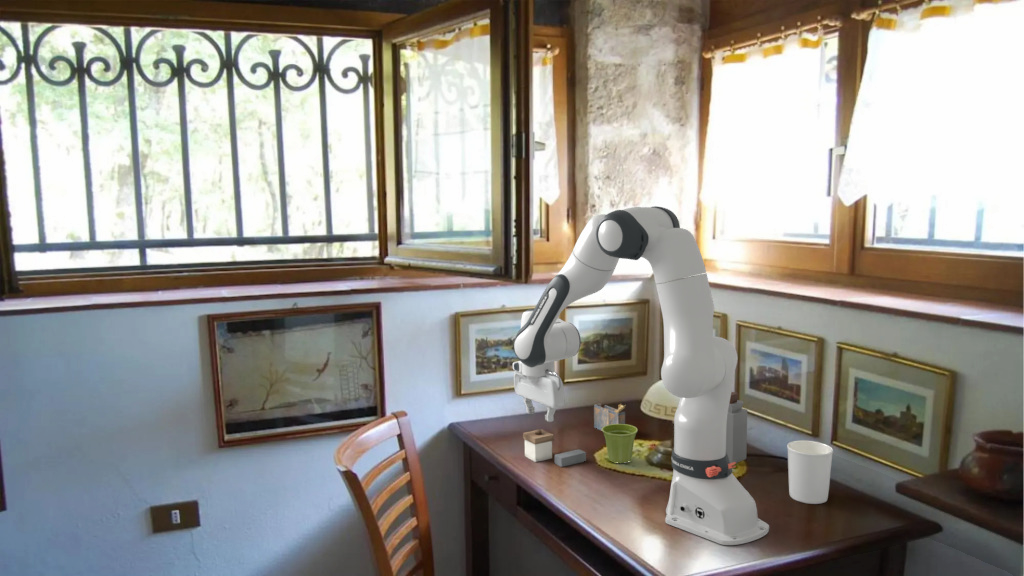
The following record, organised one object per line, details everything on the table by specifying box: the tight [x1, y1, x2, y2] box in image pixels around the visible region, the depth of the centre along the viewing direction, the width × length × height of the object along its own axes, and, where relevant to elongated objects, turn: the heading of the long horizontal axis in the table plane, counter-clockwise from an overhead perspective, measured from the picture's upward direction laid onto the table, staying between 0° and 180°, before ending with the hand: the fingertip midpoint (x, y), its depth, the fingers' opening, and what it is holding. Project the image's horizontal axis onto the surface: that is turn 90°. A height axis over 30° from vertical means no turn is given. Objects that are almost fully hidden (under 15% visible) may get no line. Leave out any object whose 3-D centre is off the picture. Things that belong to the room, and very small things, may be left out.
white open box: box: [524, 439, 553, 463], centre depth 198 cm, size 5×5×5 cm
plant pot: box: [602, 423, 638, 464], centre depth 194 cm, size 9×9×9 cm
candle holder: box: [786, 439, 834, 505], centre depth 168 cm, size 10×10×12 cm
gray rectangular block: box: [554, 448, 587, 468], centre depth 194 cm, size 3×8×2 cm, turn 121°
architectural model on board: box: [593, 403, 626, 432], centre depth 219 cm, size 11×3×10 cm, turn 32°
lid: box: [522, 428, 555, 445], centre depth 198 cm, size 6×6×3 cm
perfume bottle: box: [726, 391, 748, 464], centre depth 194 cm, size 7×7×18 cm
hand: (539, 417), depth 197 cm, fingers open, 8 cm apart
